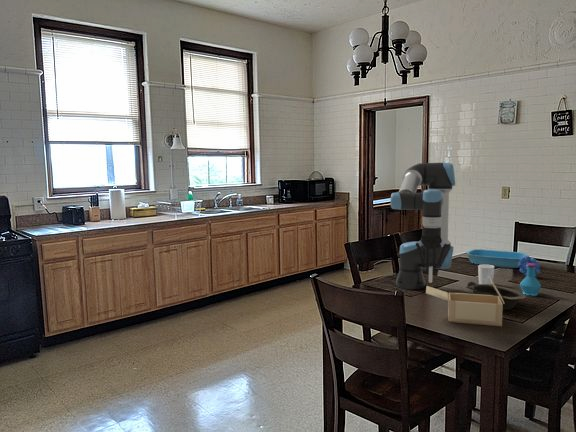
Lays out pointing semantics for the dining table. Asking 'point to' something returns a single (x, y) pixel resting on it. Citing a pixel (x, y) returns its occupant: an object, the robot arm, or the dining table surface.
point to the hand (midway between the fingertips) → (430, 281)
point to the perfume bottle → (530, 281)
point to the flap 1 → (437, 293)
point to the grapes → (524, 267)
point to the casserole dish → (495, 257)
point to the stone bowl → (507, 294)
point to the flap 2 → (496, 290)
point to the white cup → (485, 273)
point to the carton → (475, 309)
